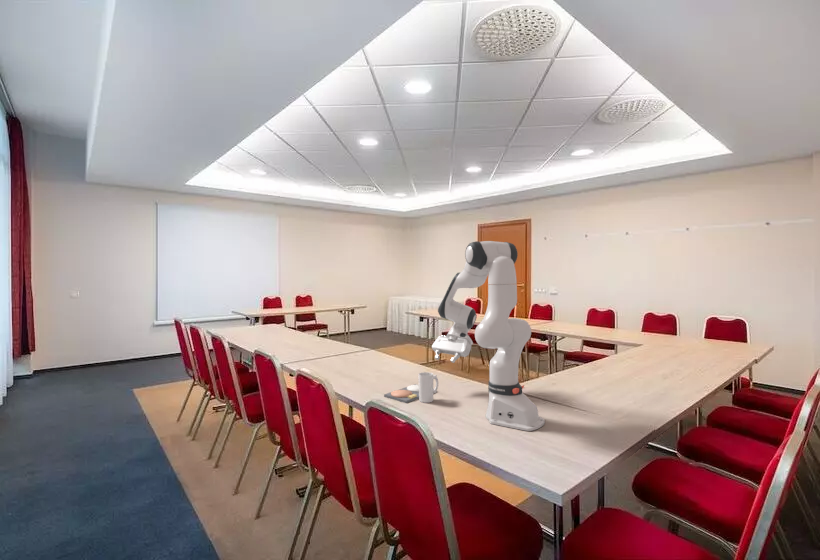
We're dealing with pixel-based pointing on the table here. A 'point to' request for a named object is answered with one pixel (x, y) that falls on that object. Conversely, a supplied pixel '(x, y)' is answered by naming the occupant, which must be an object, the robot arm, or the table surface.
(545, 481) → the table surface
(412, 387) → the grey food tray
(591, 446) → the table surface
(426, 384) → the mug
